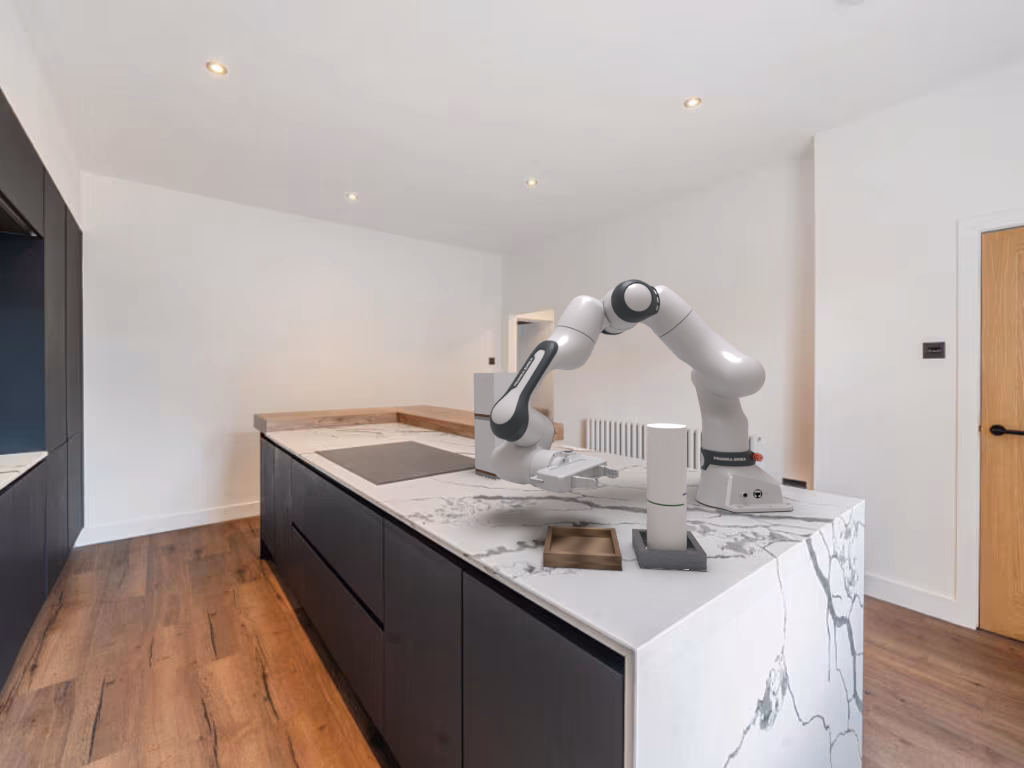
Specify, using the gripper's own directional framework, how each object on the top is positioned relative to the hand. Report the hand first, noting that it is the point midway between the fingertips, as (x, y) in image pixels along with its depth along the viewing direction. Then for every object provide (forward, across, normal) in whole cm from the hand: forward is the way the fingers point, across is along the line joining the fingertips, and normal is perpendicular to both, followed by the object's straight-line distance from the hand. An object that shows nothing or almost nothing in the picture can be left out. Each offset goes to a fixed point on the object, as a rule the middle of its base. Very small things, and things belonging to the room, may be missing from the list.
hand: (607, 478), depth 91 cm
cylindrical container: (+12, 0, +13) cm, 18 cm away
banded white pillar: (-57, +32, +13) cm, 66 cm away
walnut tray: (-2, -8, +13) cm, 15 cm away
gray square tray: (+12, 0, +13) cm, 18 cm away
